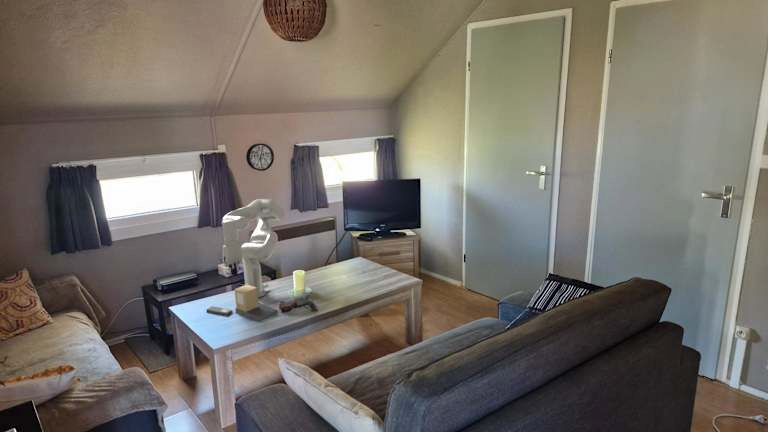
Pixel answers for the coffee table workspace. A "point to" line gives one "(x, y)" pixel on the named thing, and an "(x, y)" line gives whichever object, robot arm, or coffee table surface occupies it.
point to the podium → (259, 312)
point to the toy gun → (297, 304)
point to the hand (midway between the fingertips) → (234, 274)
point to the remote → (219, 311)
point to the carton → (246, 298)
